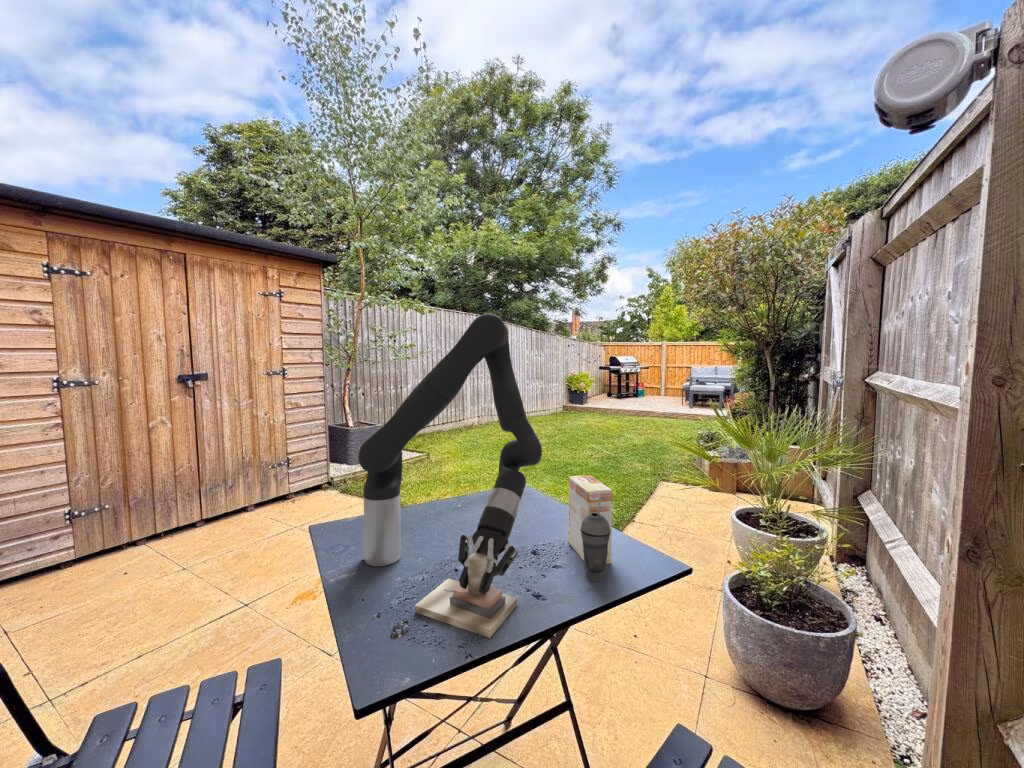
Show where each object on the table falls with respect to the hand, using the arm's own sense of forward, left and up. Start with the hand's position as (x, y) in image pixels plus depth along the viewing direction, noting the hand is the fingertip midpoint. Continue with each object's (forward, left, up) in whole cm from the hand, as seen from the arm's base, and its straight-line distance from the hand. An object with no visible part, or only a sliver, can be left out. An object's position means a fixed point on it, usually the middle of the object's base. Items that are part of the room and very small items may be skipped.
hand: (472, 589), depth 85 cm
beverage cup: (+18, +27, -6) cm, 33 cm away
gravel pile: (-11, -10, -6) cm, 16 cm away
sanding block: (0, +2, -4) cm, 5 cm away
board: (-3, +2, -6) cm, 7 cm away
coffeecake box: (+13, +39, -6) cm, 42 cm away
